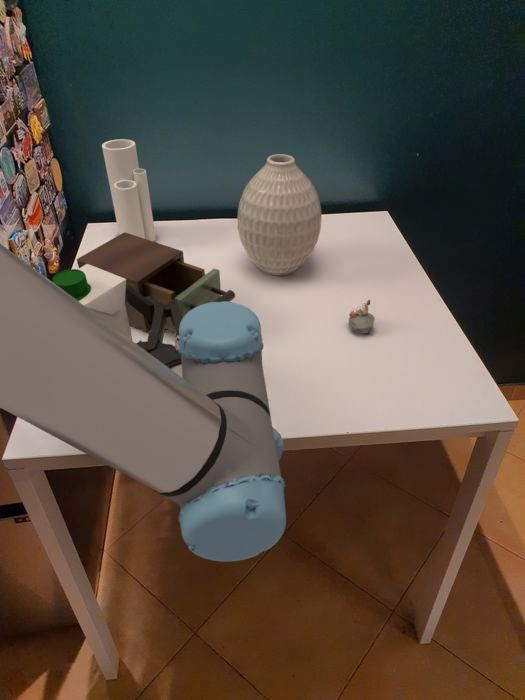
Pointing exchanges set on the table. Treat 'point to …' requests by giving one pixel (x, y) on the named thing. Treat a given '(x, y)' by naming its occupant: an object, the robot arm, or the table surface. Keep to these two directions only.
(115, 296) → the soya milk
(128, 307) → the cabinet
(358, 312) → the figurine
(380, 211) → the table surface
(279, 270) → the vase
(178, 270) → the drawer
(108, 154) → the vase
